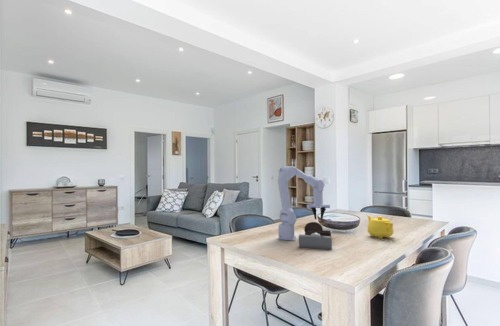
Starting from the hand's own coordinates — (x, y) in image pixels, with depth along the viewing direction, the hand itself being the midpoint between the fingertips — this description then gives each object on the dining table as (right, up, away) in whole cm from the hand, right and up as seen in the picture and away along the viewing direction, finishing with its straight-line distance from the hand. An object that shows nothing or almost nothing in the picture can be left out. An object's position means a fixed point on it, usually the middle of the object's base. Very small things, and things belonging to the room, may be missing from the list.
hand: (318, 219), depth 178 cm
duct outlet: (-9, -9, -31) cm, 33 cm away
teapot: (+35, -9, -10) cm, 37 cm away
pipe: (-5, -10, -16) cm, 19 cm away
